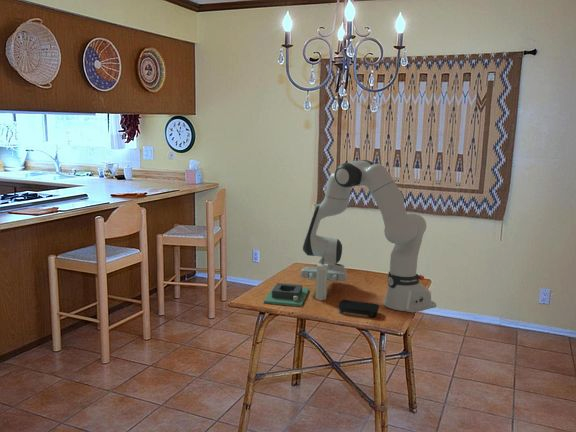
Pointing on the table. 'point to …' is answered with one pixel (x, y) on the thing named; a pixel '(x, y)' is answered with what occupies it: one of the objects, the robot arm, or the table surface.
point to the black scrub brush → (358, 308)
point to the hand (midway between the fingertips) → (321, 278)
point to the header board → (287, 295)
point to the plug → (321, 280)
